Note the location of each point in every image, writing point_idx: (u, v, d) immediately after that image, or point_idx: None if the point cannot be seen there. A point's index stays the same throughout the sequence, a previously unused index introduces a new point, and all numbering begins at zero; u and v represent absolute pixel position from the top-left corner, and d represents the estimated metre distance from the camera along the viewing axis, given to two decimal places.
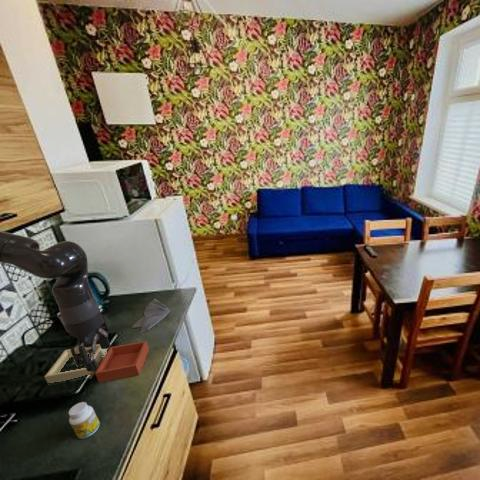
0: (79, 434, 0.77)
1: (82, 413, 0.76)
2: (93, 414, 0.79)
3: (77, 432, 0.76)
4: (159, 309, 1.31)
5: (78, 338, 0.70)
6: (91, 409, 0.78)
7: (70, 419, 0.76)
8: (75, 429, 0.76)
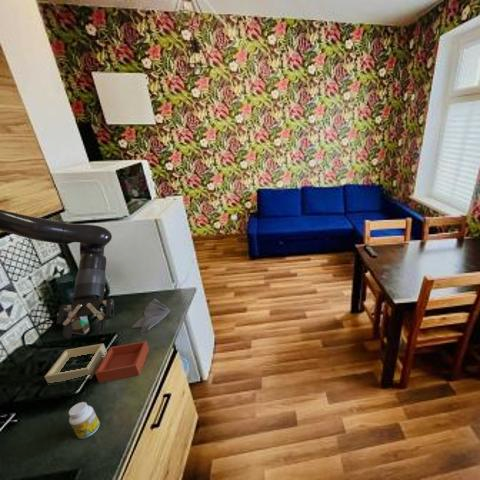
0: (79, 434, 0.77)
1: (82, 413, 0.76)
2: (93, 414, 0.79)
3: (77, 432, 0.76)
4: (159, 309, 1.31)
5: (100, 298, 0.86)
6: (91, 409, 0.78)
7: (70, 419, 0.76)
8: (75, 429, 0.76)
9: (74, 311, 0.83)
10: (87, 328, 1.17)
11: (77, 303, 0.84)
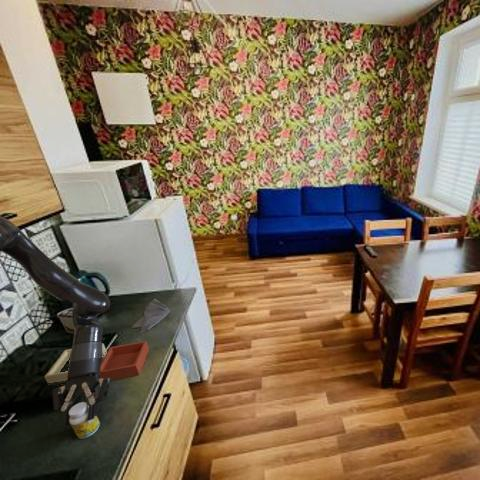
0: (79, 434, 0.77)
1: (82, 413, 0.76)
2: None
3: (77, 432, 0.76)
4: (159, 309, 1.31)
5: (97, 374, 0.81)
6: None
7: (70, 419, 0.76)
8: (75, 429, 0.76)
9: (68, 393, 0.77)
10: None
11: (71, 382, 0.78)
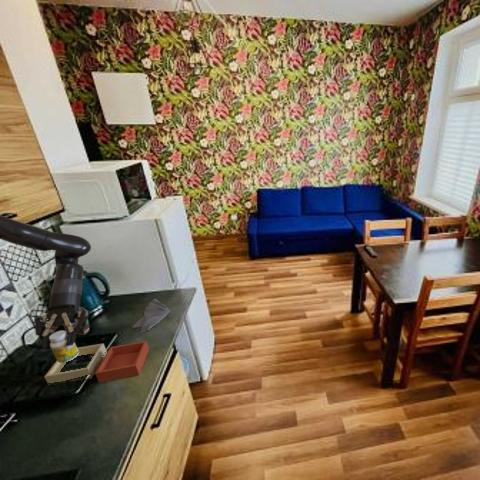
0: (59, 358, 0.85)
1: (62, 338, 0.84)
2: None
3: (57, 356, 0.84)
4: (159, 309, 1.31)
5: (76, 307, 0.88)
6: None
7: (50, 343, 0.83)
8: (55, 353, 0.84)
9: (49, 321, 0.85)
10: (87, 328, 1.17)
11: (52, 313, 0.86)
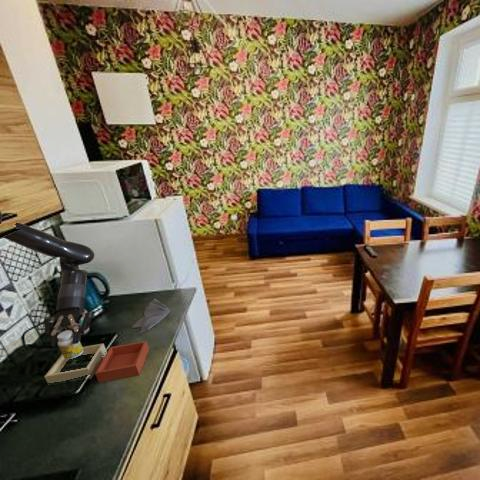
0: (66, 355, 0.94)
1: (68, 337, 0.94)
2: None
3: (64, 353, 0.94)
4: (159, 309, 1.31)
5: (81, 309, 0.98)
6: None
7: (58, 342, 0.93)
8: (62, 350, 0.94)
9: (57, 321, 0.94)
10: None
11: (59, 314, 0.96)
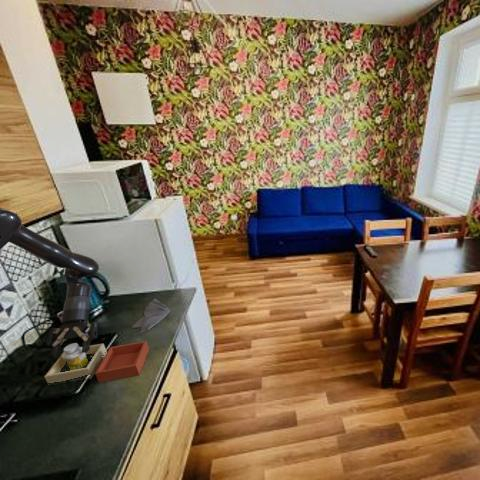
0: (72, 367, 0.97)
1: (74, 350, 0.96)
2: (83, 353, 0.99)
3: (70, 366, 0.96)
4: (159, 309, 1.31)
5: (85, 321, 1.00)
6: (81, 349, 0.99)
7: (65, 355, 0.96)
8: (69, 363, 0.96)
9: (62, 334, 0.96)
10: (87, 328, 1.17)
11: (65, 327, 0.98)
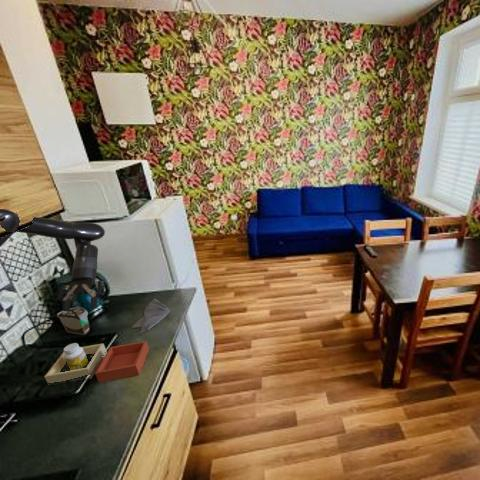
0: (72, 367, 0.97)
1: (74, 350, 0.96)
2: (83, 353, 0.99)
3: (70, 366, 0.96)
4: (159, 309, 1.31)
5: (93, 280, 1.08)
6: (81, 349, 0.99)
7: (65, 355, 0.96)
8: (69, 363, 0.96)
9: (72, 290, 1.04)
10: (87, 328, 1.17)
11: (74, 284, 1.05)
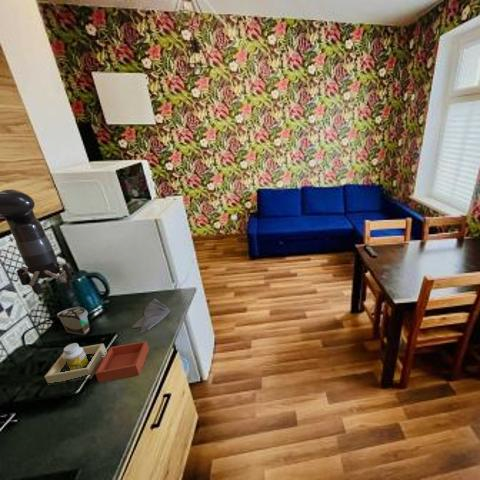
0: (72, 367, 0.97)
1: (74, 350, 0.96)
2: (83, 353, 0.99)
3: (70, 366, 0.96)
4: (159, 309, 1.31)
5: (55, 263, 0.90)
6: (81, 349, 0.99)
7: (65, 355, 0.96)
8: (69, 363, 0.96)
9: (34, 276, 0.89)
10: (87, 328, 1.17)
11: (33, 269, 0.89)
